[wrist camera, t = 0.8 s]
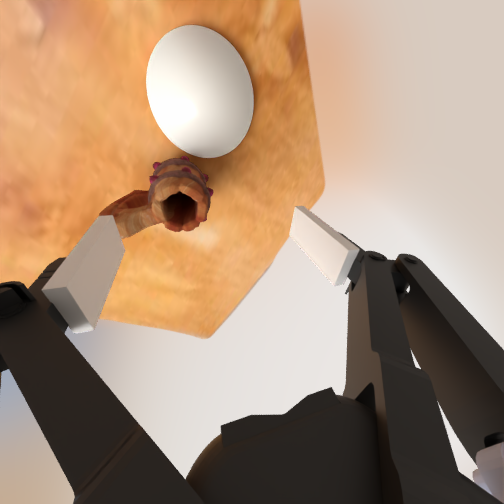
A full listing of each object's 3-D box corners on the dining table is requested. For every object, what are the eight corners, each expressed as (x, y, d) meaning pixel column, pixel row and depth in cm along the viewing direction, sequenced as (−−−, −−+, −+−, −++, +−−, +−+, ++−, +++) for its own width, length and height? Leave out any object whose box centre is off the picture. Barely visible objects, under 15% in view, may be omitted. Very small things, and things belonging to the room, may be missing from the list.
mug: (199, 148, 33) (209, 167, 21) (213, 194, 38) (227, 231, 26) (107, 169, 31) (62, 203, 19) (134, 215, 36) (111, 265, 24)
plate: (120, 73, 26) (118, 71, 25) (215, -2, 24) (217, -7, 23) (195, 174, 35) (195, 176, 34) (266, 123, 34) (269, 124, 33)
